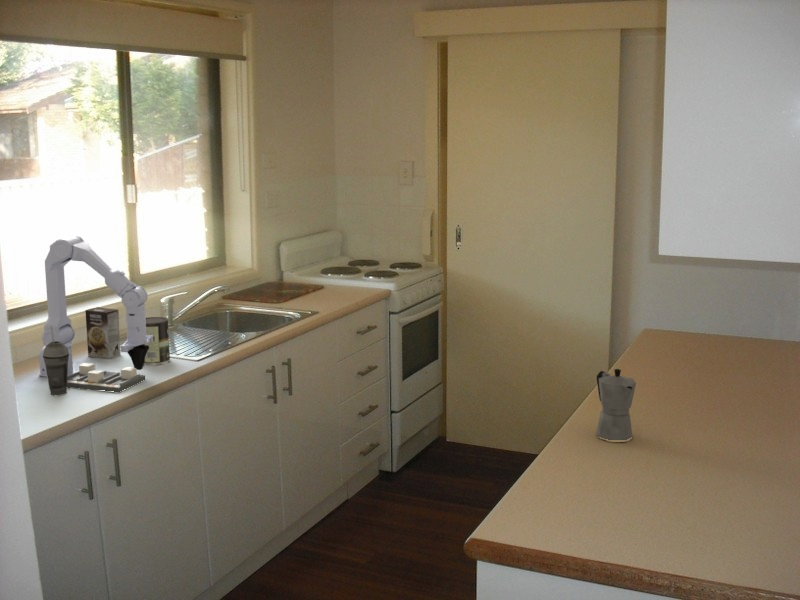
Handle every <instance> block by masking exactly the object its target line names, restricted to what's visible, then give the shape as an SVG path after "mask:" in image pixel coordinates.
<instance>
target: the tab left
mask: <svg viewBox="0 0 800 600" xmlns="http://www.w3.org/2000/svg"><path fill="white" fill-rule="evenodd" d="M95 365H96V364H95V363H91V362H90V363H88V362H86V363H85V362H84V363H81V364H79V365H78V370H79V374H82V375H87V374H88V372H90V371H93V370H96V366H95Z"/></svg>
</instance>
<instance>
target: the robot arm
mask: <svg viewBox="0 0 800 600" xmlns="http://www.w3.org/2000/svg"><path fill="white" fill-rule="evenodd" d="M71 261H74V262H75V261H76V262H84V263H85V264H86V265H88V266H89V267H90V268H91V269H93V270H94V271H95V272H96V273H98V274H99V275H100V276H102V277H103V278H104V283H105V285H106V286H107V287H108V288H109V289H111V291H113V292H114V293H115V294H116V295H117V296H118V297H119V298H121V303H122V305H123V306H124V307H125V315H126V316H125V318H126V339H127V340H126V341H125V342H124V343H122V344H120V353H121V352H122V353H127V354H128V356H129V357H130V358H129V359H130V360H131V362H132V365H133V368H137V371H142V370H143V368H144V366H145V365H144V360H145V356H146V354H147V351H148V349H149V346H148V345H145V344H148V343H150V342H153V335H146V318H147V316H146V306H145V305H146V302H147V300H148V292H147V291H146V289H145V288H144V287H143V286H141V285H137V284H136V283H135V282H133V281H131V280H130V279H129V278H128V277H126V273H125V272H124V271H122V270H121V271H120V270H118V269H116V270H115V269H113V268H111V267H110V266H109V265H108V264H107V263H106V262H105V261H104V260H103V259H102V258H101V257H100V256H99V254H97V253H96V252H95V251H94V250H93V249H92V247H91V246H90V244H89V243H88V242H87V241H85V240H84V239H83V238H82V237H81V236H78V235H71V236H70V237H69V236H68V237H66V238H65V237H64V238H62V239H61V238H60V239H56V240H55V241H54V242H52V244H50V245H49V251H48V253H47V255H46V258H45V260H44V273H45V286H46V287H45V288H46V289H45V290H46V300H47V303H46V304H47V316H48V317H47V320H45V321H46V322H45V323H44V325H43V332H42V335H41V341H42V344H43V345H44V346H43V347H41V349H40V350H39V355H38V358H39V359H38V360H39V373H38V376H39V377H46V378H48V377H47V371H46V365H45V362H44V358H43V352H44V349H45V347H46V346H47V345H48V344H49V343H51V342H53V341H52V334H51V326H52V328H53V335H54V341H58V342H61V343H63V344H64V345H65V346H66V347H67V349H68V352H69V359H68V375H70V374H72V373H75V372H77V371H79V369H78V370H77V369H74V366H73V365H74V362H73V350H72V349H73V348H72V341H73V340H74V339H75V335H76V333H75V329H74V328H73V325H72V320H71V318H70V317H68V313H67V298H66V296H67V295H66V279H65V278H66V277H65V266H66V265H67V264H68V263H70V262H71Z"/></svg>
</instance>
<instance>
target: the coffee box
mask: <svg viewBox="0 0 800 600" xmlns="http://www.w3.org/2000/svg"><path fill="white" fill-rule="evenodd" d="M85 323H86V324H85V326H86V339H87V342H86V343H87V344H86V345H87V357H92V358H99V359H106V360H110V359H111V360H112V359H113V358H116V357H119V356H121V340H120V339H121V338H120V315H119V309H118V308H117V309H116V308H108V307H99V306H96V307H93V308H89V309H85Z"/></svg>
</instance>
